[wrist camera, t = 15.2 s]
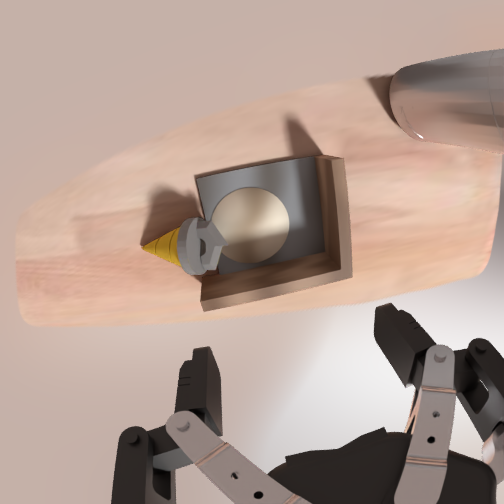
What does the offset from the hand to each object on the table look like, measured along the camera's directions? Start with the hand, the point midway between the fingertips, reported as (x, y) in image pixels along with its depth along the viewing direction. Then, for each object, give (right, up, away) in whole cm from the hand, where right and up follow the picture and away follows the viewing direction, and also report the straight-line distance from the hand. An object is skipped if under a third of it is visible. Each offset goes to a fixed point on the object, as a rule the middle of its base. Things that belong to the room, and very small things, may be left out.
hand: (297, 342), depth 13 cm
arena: (-1, +7, +17) cm, 18 cm away
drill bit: (-4, +5, +13) cm, 14 cm away
